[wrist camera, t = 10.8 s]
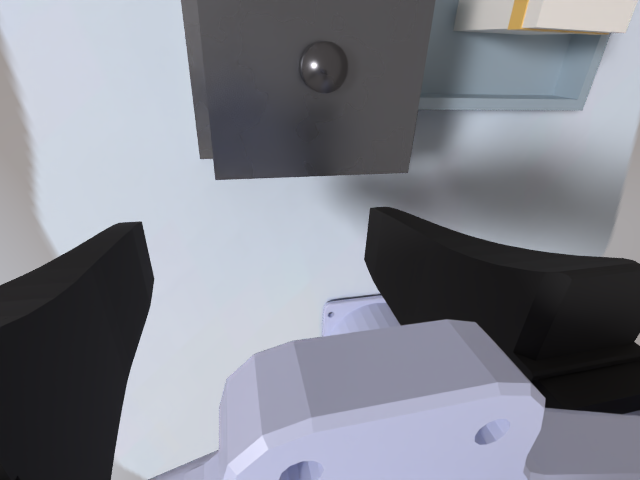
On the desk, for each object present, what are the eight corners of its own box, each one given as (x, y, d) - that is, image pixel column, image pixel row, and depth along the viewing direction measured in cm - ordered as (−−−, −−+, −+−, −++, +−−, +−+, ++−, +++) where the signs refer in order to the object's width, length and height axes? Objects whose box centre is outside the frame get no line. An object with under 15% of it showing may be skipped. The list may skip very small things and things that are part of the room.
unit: (370, 152, 22) (431, 198, 16) (200, 156, 20) (190, 211, 13) (392, -54, 17) (493, -110, 11) (172, -78, 15) (135, -166, 9)
